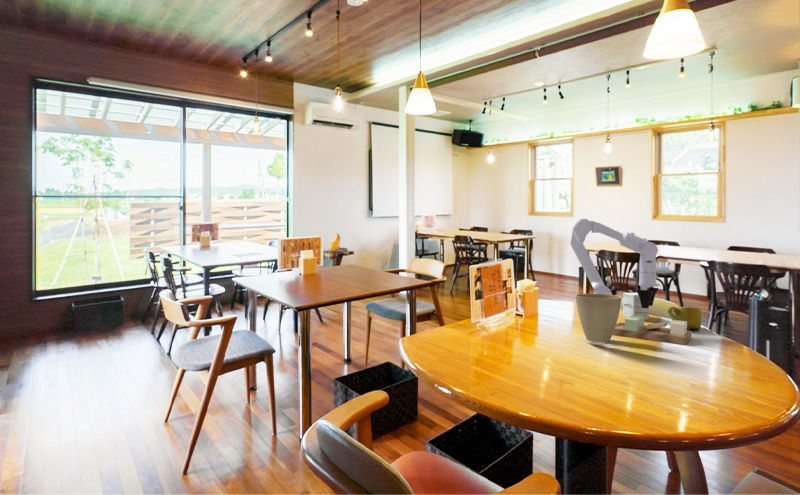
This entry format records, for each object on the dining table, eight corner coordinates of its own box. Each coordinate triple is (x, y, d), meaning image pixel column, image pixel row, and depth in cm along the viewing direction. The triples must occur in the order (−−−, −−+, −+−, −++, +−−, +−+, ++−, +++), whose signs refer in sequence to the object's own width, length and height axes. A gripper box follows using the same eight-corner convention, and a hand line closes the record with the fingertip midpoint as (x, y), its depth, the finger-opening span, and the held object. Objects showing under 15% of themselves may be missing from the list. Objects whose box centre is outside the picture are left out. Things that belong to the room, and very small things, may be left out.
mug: (692, 328, 173) (692, 304, 173) (707, 334, 163) (708, 308, 163) (660, 328, 175) (660, 303, 174) (673, 333, 164) (674, 307, 164)
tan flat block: (646, 329, 158) (645, 326, 158) (649, 326, 162) (648, 324, 162) (664, 327, 154) (664, 324, 155) (667, 324, 158) (666, 322, 158)
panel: (610, 334, 162) (610, 323, 162) (619, 328, 173) (619, 318, 173) (686, 344, 147) (686, 332, 146) (691, 337, 157) (691, 326, 157)
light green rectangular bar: (624, 329, 159) (625, 319, 159) (632, 324, 168) (632, 314, 168) (636, 331, 156) (637, 320, 156) (644, 326, 165) (644, 315, 165)
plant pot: (620, 338, 156) (620, 294, 156) (622, 347, 143) (622, 299, 142) (575, 334, 162) (576, 292, 162) (573, 342, 149) (574, 297, 148)
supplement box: (622, 321, 188) (622, 292, 188) (637, 321, 189) (638, 292, 189) (633, 324, 181) (633, 294, 181) (649, 324, 182) (649, 294, 182)
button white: (670, 334, 151) (670, 323, 151) (673, 330, 157) (673, 319, 157) (683, 336, 149) (683, 324, 149) (686, 332, 155) (687, 321, 155)
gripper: (655, 274, 161) (655, 310, 161) (662, 271, 172) (662, 305, 172) (634, 273, 165) (634, 308, 165) (642, 270, 176) (642, 303, 177)
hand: (647, 306), depth 169 cm, fingers open, 7 cm apart
